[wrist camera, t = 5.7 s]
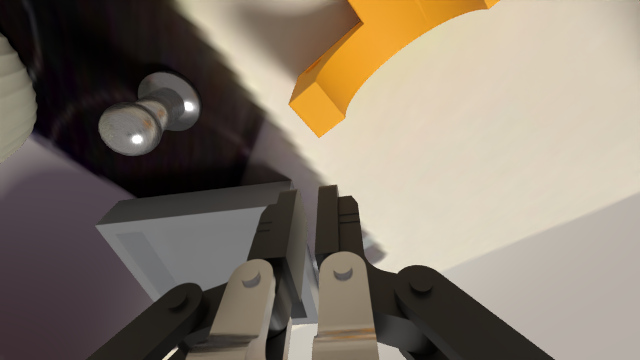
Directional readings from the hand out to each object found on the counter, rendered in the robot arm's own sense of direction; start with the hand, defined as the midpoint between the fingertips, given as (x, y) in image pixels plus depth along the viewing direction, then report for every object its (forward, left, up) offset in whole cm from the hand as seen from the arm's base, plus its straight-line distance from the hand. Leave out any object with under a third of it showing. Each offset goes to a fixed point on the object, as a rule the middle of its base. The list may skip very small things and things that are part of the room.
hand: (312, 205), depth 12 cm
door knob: (+11, -2, -12) cm, 17 cm away
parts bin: (+12, +15, -12) cm, 23 cm away
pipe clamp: (-4, -5, -13) cm, 14 cm away
